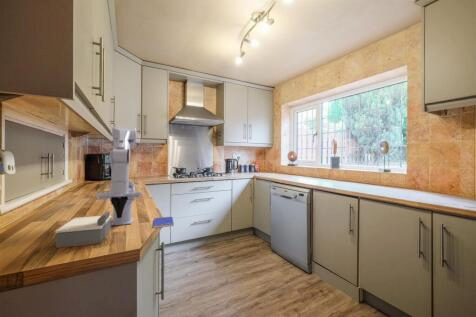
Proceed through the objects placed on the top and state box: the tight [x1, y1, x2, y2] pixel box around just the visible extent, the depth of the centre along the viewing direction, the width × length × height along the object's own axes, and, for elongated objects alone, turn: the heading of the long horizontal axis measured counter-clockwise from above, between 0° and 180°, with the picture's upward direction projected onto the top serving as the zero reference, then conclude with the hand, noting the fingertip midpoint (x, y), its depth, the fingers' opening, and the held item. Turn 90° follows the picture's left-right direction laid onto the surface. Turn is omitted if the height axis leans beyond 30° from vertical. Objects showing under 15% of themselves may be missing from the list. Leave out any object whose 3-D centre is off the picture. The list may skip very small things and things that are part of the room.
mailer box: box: [55, 217, 112, 249], centre depth 76 cm, size 16×12×4 cm
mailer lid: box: [54, 211, 113, 234], centre depth 76 cm, size 16×12×3 cm
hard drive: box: [152, 216, 175, 229], centre depth 94 cm, size 2×8×12 cm
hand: (119, 217), depth 80 cm, fingers closed
